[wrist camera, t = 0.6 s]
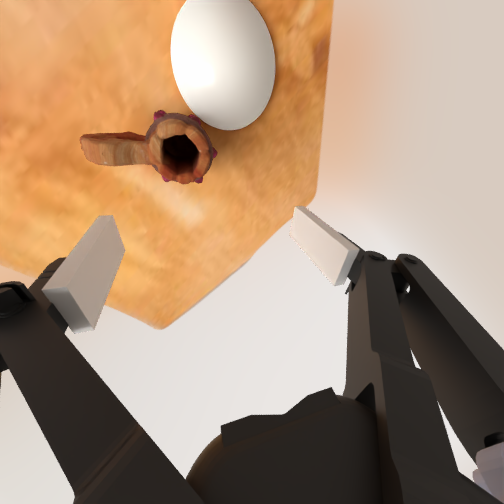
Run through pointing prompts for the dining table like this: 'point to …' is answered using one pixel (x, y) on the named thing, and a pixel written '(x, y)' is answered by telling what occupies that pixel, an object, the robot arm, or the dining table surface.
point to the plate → (223, 61)
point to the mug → (157, 148)
